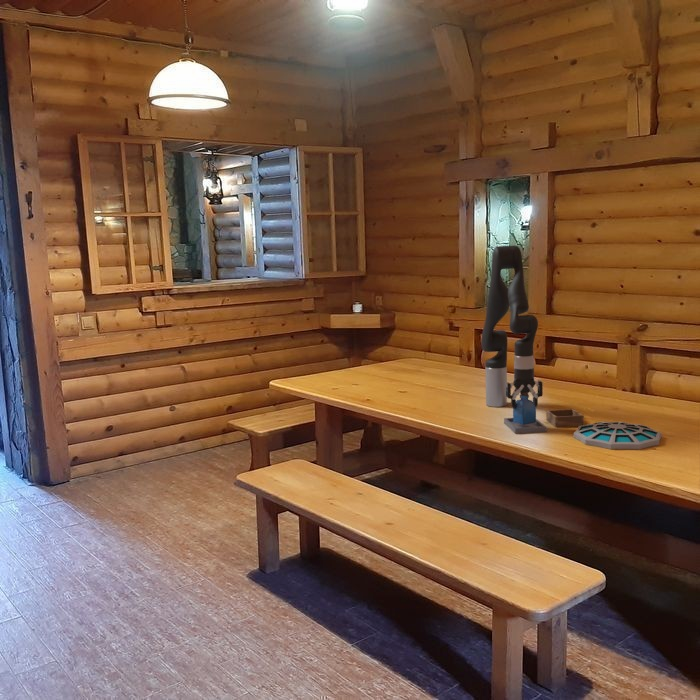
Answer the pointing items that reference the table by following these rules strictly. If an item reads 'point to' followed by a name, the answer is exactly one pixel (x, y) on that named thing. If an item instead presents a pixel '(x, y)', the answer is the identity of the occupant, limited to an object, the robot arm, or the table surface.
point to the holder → (564, 418)
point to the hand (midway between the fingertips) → (524, 407)
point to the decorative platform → (618, 435)
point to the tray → (524, 426)
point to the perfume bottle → (524, 410)
